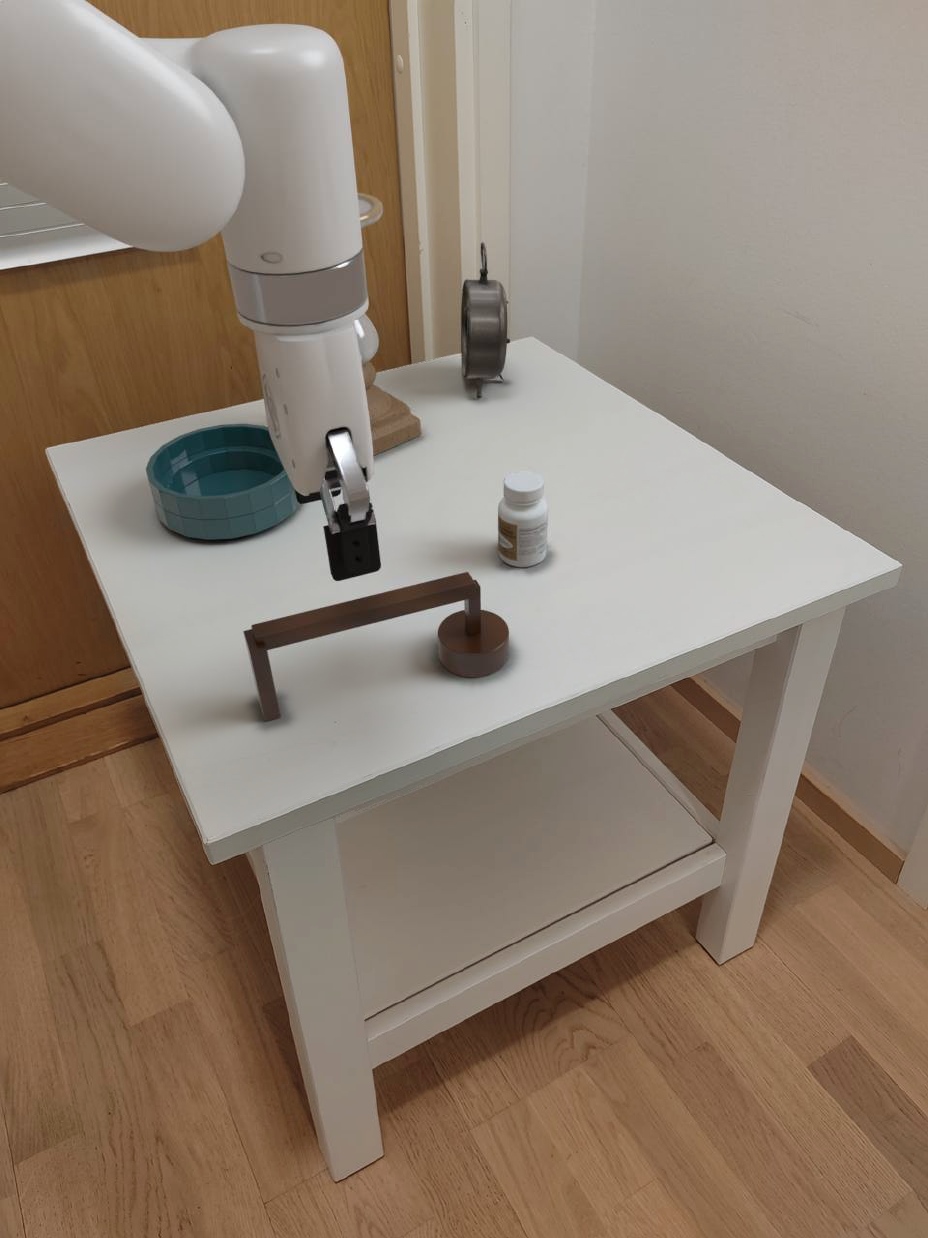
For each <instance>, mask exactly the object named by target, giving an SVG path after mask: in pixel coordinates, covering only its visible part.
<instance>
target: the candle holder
mask: <svg viewBox="0 0 928 1238" xmlns="http://www.w3.org/2000/svg"><path fill="white" fill-rule="evenodd" d="M357 195H358V205H359V215H360V225H361V229H363V228H365V227H368V226H371V225H373V224H374V223H376V222H378V221H379V220H380V219H381V217H382V215H383V213H384V206H383V203H382V201H380V200H379V198H378V197H375V196H373V195H370V194H367V193H363V192H357ZM354 322H355V327H356V333H357V339H358V345H359V351H360V354H361V357H362V360H361V363H362V370H363V376H364V383H365V390H366V396H367V403H368V411H369V419H370V427H371V435H372V445H373V457H374V456H376V455H379V454H381V453H383V452H385V451H388V450H391V449H393V448H395V447H397V446H399V445H402V444H404V443H406V442H408V441H411V440H413V439H415V438H417V437H419V436H420V435H421V434H422V429H421V428H422V427H421V419H420V418H419V417H418V416H416V415H415V414H413V413H411V407H409V406H408V404H407V403H405V402H404V401H402V400H400V399H399V398H397V397H396V396H393V395H392V394H390V393H388V392H387V391H385V390H383V389H382V388H381V387H379V386H377V385H376V384H375V381H376V379H377V371H376V368H375V366H374V365H373V364H372V362H371V361H370V360H372V359H373V358H374V356H375V355H376V353H377V352H378V350H379V345H380V338H379V334H378V331H377V329H376V327H375V325H374V324H373V322H372V320H371V319H370V318H369V317H368V315H367V314H366V313H365V314H364V315H362V316H361V317H360V318H359V319H357V320H355V321H354Z"/></svg>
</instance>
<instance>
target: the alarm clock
mask: <svg viewBox="0 0 928 1238" xmlns="http://www.w3.org/2000/svg"><path fill="white" fill-rule="evenodd" d="M480 258H481V259H480V261H481V268H480V269H479V279H467V278H465V280H464V281H463V285H462V290H461V291H462V292H461V304H460V305H461V307H460V309H461V310H460V311H461V313H460V314H461V315H460V354H461V355H460V356H461V372H462V377H463V378H464V379H465V380H470V379H471V380H472V379H473V380H475V386H476V399H481V398H482V396H483V394H482V388H483V380H494V379H495V380H496V379H497V378H498V377H499V378H500V379H501V380H502V381H503V382H505V380H504V378H503V376H502V373H503V371H504V368H505V364H506V359H507V348H508V344H510V343H511V339H510V338H508V323H509V322H508V304H509V301H508V300H507V294H506V290H505V287H504V285H503V284H502V282H500V281H499V280H497V279H488V274H489V269H488V253H487V246H486V243H485V242H484V241H482V242H481V243H480Z"/></svg>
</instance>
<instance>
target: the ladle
mask: <svg viewBox="0 0 928 1238" xmlns="http://www.w3.org/2000/svg"><path fill="white" fill-rule="evenodd" d="M481 589H482V588H481V584H480V583H479V582H478V581H477V579H474V578H473V576H471V574H470V572H469V571H464V572H462V573H456V574H452V575H448V576H444V577H441V578H435V579H432V580H428V581H424V582H421V583H416V584H412V585H408V586H404V587H400V588H395V589H391V590H387V591H384V592H380V593H376V594H372V595H368V596H363V597H360V598H355V599H351V600H346V601H343V602H340V603H339V602H338V603H336V604H331V605H326V606H323V607H319V608H314V609H311V610H307V611H302V612H299V613H295V614H290V615H286V616H282V617H279V618H275V619H270V620H266V621H262V622H259V623H254V624H251V628H250V629H246V630H243V631H242V633H243V636H244V642H245V645H246V650H247V655H248V658H249V663H250V668H251V673H252V678H253V682H254V685H255V691H256V694H257V699H258V703H259V706H260V710H261V713H262V716H263V719H264V722H270V721H272V720H277V719H280V718H281V717H282V716H281V711H280V706H279V700H278V697H277V696H278V695H277V691H276V686H275V682H274V676H273V671H272V667H271V662H270V658H269V653H268V651H271V650H273V649H279V648H282V647H285V646H286V647H287V646H290V645H294V644H299V643H302V642H305V641H311V640H314V639H318V638H321V637H325V636H329V635H334V634H338V633H341V632H344V631H345V632H346V631H349V630H352V629H353V630H354V629H356V628H361V627H364V626H368V625H372V624H377V623H381V622H384V621H388V620H393V619H396V618H400V617H404V616H408V615H412V614H416V613H420V612H423V611H424V612H425V611H427V610H431V609H435V608H440V607H443V606H448V605H451V604H456V603H459V602H462V601H464V603H463V604H464V609H463V610H459V611H456V612H452V613H451V614H450V615H447V616H446V617H445V618H444V619H443V620H442V621H440V624H439V626H438V628H437V647H438V649H437V650H438V659H439V661H440V663H441V665H442V666H443V667H444V668H445V669H446V670H447V671H448V672H451V673H452V674H454V675H457V676H460V677H464V678H481V677H486V676H490V675H493V674H494V673H496V672H498V671H499V670H502V668H503V667H504V666H505V665H506V663H507V661H508V659H509V655H510V628H509V626H508V624H507V622H506V621H505V620H504V619H503V617H501V616H500V615H498V614H497V613H494V612H492V611H490V610H485V609H482V600H481V599H482V598H481V597H482V596H481V595H482V594H481V592H482V591H481Z"/></svg>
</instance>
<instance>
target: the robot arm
mask: <svg viewBox="0 0 928 1238" xmlns="http://www.w3.org/2000/svg"><path fill="white" fill-rule="evenodd" d="M334 39H335V38H333V37H332V36H331V35H330V34H328V33H327V32H326V31H325V30H323V29H320V28H317V27H314V26H311V25H306V24H295V23H294V24H293V23H268V24H267V23H266V24H265V23H263V24H252V25H243V26H238V27H237V26H236V27H233V28H228V29H227V28H226V29H223V30H219V31H216V32H213V33H211V34H209V35H207V36H204V37H189V38H188V37H185V38H184V37H181V38H180V37H179V38H175V37H173V38H171V37H169V38H167V37H165V38H161V37H159V38H158V37H157V38H156V37H139V36H138V35H136V34H135V33H133V32H131V31H130V30H129V29H127V28H126V27H124V26H123V25H122V24H120V23H119V22H117V21H116V20H115V19H113V18H112V17H110V16H109V15H107V14H105V13H104V12H103V11H101V10H100V9H98V8H97V7H96V6H94V5H93V4H91V3H89V2H88V1H87V0H0V181H2V182H4V183H6V184H7V185H10V186H11V187H13V188H15V189H17V190H19V191H21V192H23V193H25V194H27V195H28V196H30V197H32V198H34V199H37V200H38V201H40V202H42V203H44V204H46V205H48V206H50V207H52V208H53V209H55V210H58V212H61V213H62V214H65V215H67V216H69V217H70V218H72V219H74V220H75V221H78V222H80V223H81V224H84V225H86V226H88V227H89V228H92V229H93V230H95V231H97V232H99V233H100V234H103V235H106V236H107V237H109V238H112V239H113V240H116V241H118V242H120V243H122V244H125V245H127V246H131V247H133V248H136V249H140V250H146V251H150V252H157V253H174V252H181V251H187V250H190V249H192V248H196V247H198V246H201V245H203V244H205V243H207V242H208V241H209V240H211V239H212V238H214V237H215V236H217V235H218V234H219V233H220V232H221V233H220V234H221V238H222V243H223V248H224V254H225V258H226V264H227V269H228V273H229V279H230V284H231V289H232V293H233V300H234V306H235V310H236V315H237V319H238V321H239V323H240V324H241V325H243V326H244V327H245V328H248V329H250V330H251V331H253V334H254V342H255V350H256V356H257V357H256V358H257V364H258V370H259V376H260V377H259V378H260V383H261V389H262V396H263V403H264V411H265V418H266V425H267V427H268V430H269V433H270V437H271V439H272V442H273V444H274V447H275V449H276V451H277V453H278V456H279V458H280V460H281V462H282V464H283V467H284V469H285V471H286V473H287V475H288V477H289V479H290V481H291V483H292V485H293V487H294V490H295V495H296V499H297V501H298V502H299V503H300V504H299V505H306V504H309V503H313V502H318V501H321V503H322V505H323V506H322V507H323V511H324V515H325V518H326V522H327V525H323V526H322V527H323V534H324V538H325V545H326V546H325V547H326V553H327V558H328V565H329V571H330V572H329V573H330V575H331V577H332V579H333V581H335V582H341V581H345V580H349V579H353V578H358V577H361V576H365V575H368V574H373V573H377V572H379V571H380V570H381V568H382V563H381V562H382V561H381V553H380V545H379V537H378V535H379V534H378V527H377V519H376V515H375V511H374V507H373V503H372V499H371V496H370V490H369V486H368V482H369V481H370V480H371V479H372V477H373V476H374V474H375V473H374V472H375V462H374V461H375V460H374V459H375V458H374V456H373V445H372V435H371V427H370V419H369V411H368V403H367V396H366V390H365V383H364V376H363V370H362V363H361V360H362V357H361V354H360V351H359V345H358V339H357V333H356V327H355V322H354V321H355V320H357V319H359V318H360V317H361V316H362V315H364V314H366V312H367V311H368V309H369V306H370V302H369V301H370V300H369V291H368V282H367V270H366V263H365V252H364V245H363V235H362V228H361V225H360V215H359V205H358V195H357V193H358V186H357V175H356V166H355V165H356V164H355V157H354V146H353V136H352V126H351V118H350V105H349V96H348V86H347V77H346V70H345V64H344V58H343V55H342V52H341V50H340V48H339V45H338V44H337V42H336V40H334ZM341 493H342V499H343V502H344V503H340V504H339V505H338V506H337V509H336V506H335V502H334V499H333V498H335V497H338V496H340V495H341Z"/></svg>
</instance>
